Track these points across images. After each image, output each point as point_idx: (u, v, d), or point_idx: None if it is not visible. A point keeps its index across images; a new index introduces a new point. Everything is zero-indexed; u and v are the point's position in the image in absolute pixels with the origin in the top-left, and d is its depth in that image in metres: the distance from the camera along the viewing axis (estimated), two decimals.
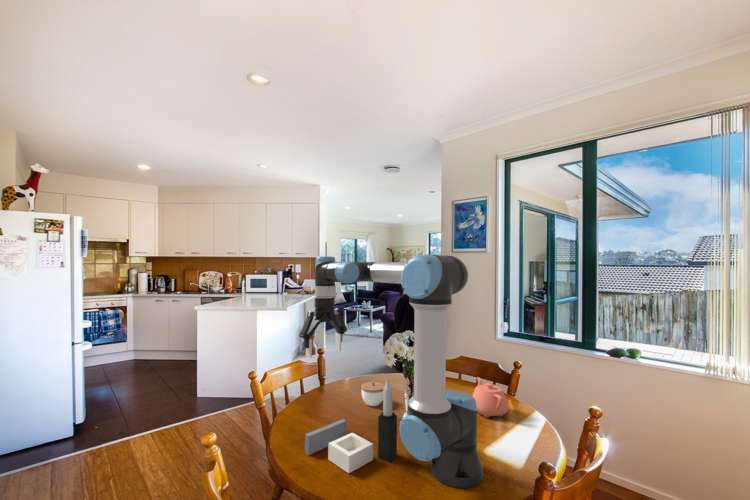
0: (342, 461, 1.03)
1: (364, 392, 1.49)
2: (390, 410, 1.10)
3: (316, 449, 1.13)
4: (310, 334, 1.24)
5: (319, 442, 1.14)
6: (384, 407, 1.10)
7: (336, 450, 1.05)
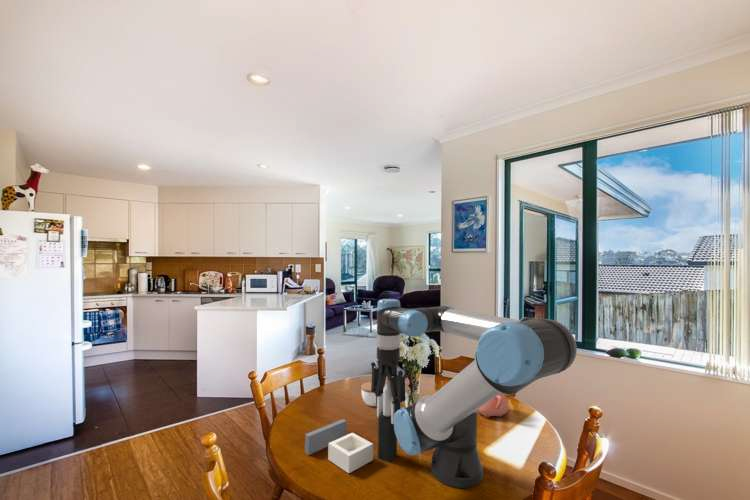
0: (342, 461, 1.03)
1: (364, 392, 1.49)
2: (390, 410, 1.10)
3: (316, 449, 1.13)
4: (377, 390, 1.13)
5: (319, 442, 1.14)
6: (384, 407, 1.10)
7: (336, 450, 1.05)
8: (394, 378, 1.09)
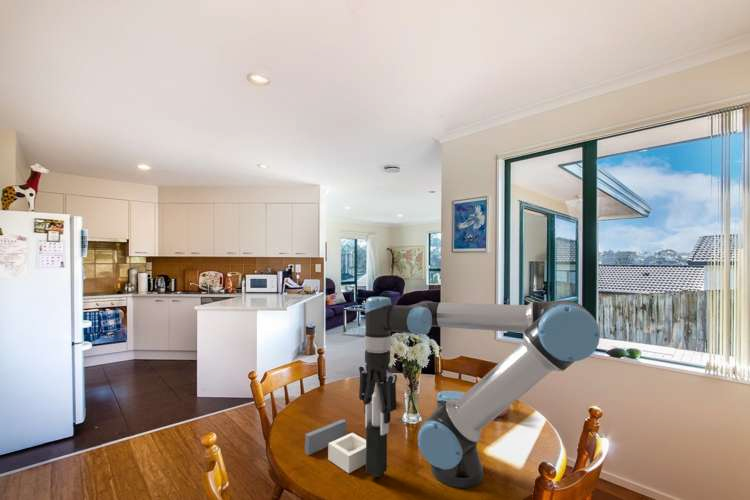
0: (342, 461, 1.03)
1: None
2: (379, 419, 0.99)
3: (316, 449, 1.13)
4: (365, 397, 1.03)
5: (319, 442, 1.14)
6: (373, 416, 1.00)
7: (336, 450, 1.05)
8: (384, 384, 0.99)
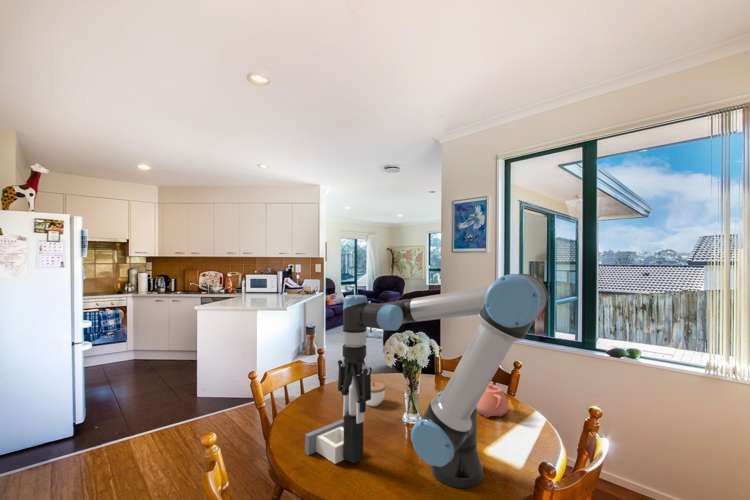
0: (329, 452, 1.08)
1: None
2: None
3: None
4: (343, 389, 1.10)
5: None
6: (350, 406, 1.07)
7: (323, 442, 1.10)
8: (360, 376, 1.06)
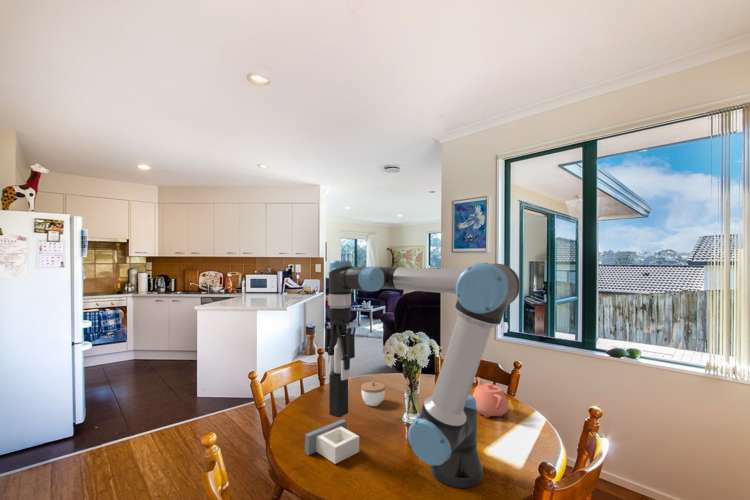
0: (329, 452, 1.08)
1: (364, 392, 1.49)
2: (340, 367, 1.13)
3: None
4: (329, 349, 1.16)
5: None
6: (335, 365, 1.13)
7: (323, 442, 1.10)
8: (344, 336, 1.12)
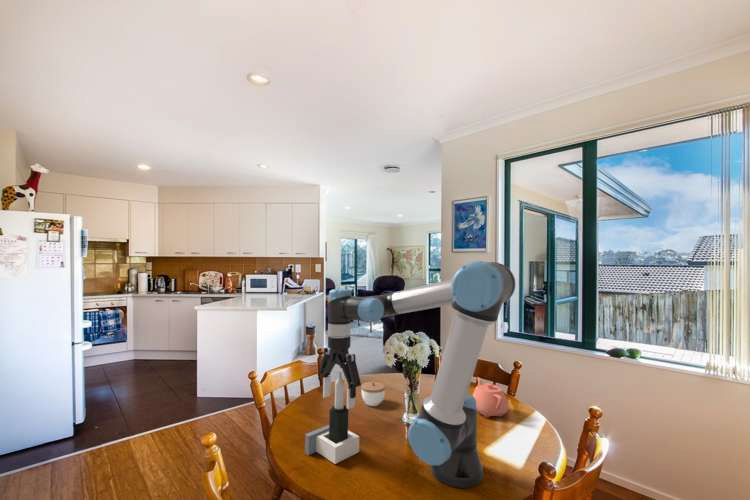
0: (329, 452, 1.08)
1: (364, 392, 1.49)
2: (341, 403, 1.12)
3: None
4: (324, 372, 1.17)
5: None
6: (335, 400, 1.12)
7: (323, 442, 1.10)
8: (346, 364, 1.11)
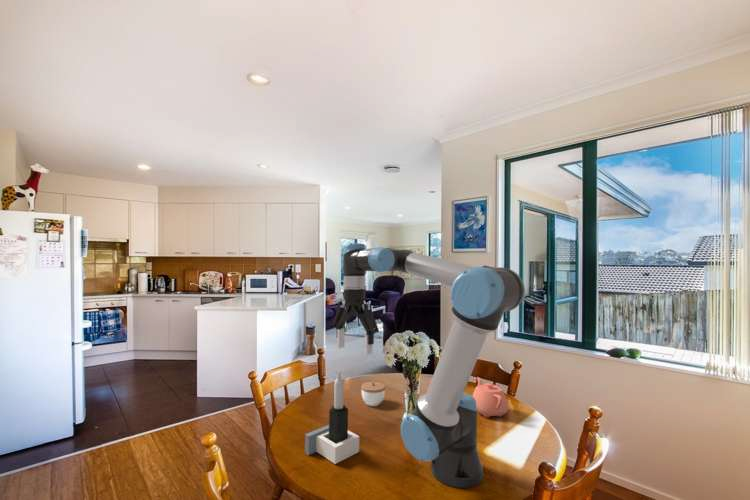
0: (329, 452, 1.08)
1: (364, 392, 1.49)
2: (340, 403, 1.12)
3: None
4: (338, 324, 1.21)
5: None
6: (335, 400, 1.12)
7: (323, 442, 1.10)
8: (362, 314, 1.15)
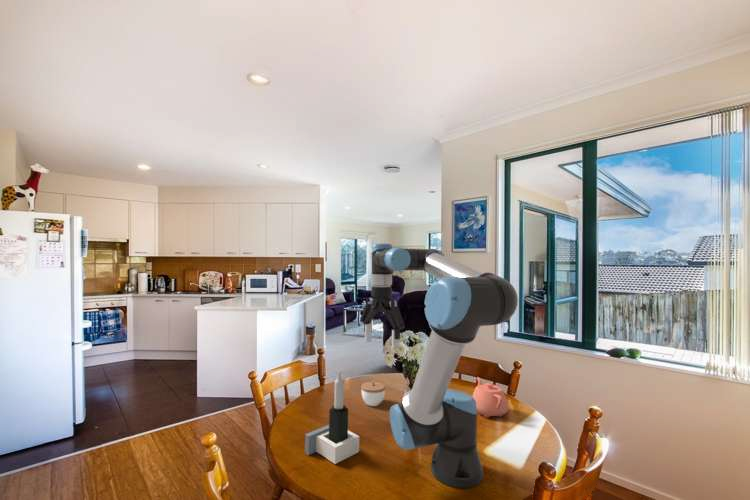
0: (329, 452, 1.08)
1: (364, 392, 1.49)
2: (340, 403, 1.12)
3: None
4: (365, 319, 1.28)
5: None
6: (335, 400, 1.12)
7: (323, 442, 1.10)
8: (389, 311, 1.21)
